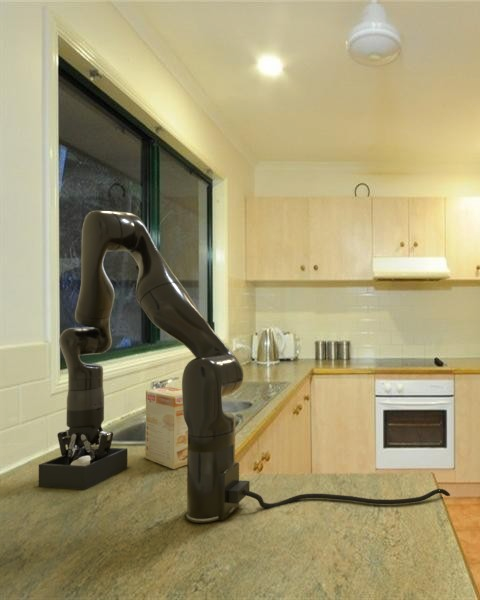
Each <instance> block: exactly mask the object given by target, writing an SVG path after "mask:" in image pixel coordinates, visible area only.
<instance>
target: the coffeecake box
mask: <svg viewBox="0 0 480 600" xmlns="http://www.w3.org/2000/svg"><path fill="white" fill-rule="evenodd" d="M187 448H188V428H187V424H186V422H185V420H184V415H183V398H182V388H178V387H173V386H163V387H158V388H153V389H147V390H145V447H144V449H145V450H144V451H145V453H144V459H146V460H149V461H152V462H154V463H157V464H159V465H162V466H164V467H167V468H168V469H172V470H176V469H178V468H181V467H185V466H187Z"/></svg>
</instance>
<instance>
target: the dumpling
mask: <svg viewBox="0 0 480 600" xmlns="http://www.w3.org/2000/svg"><path fill="white" fill-rule="evenodd" d="M90 460H91V458H90V456H83V457H80V458H79V459H77V460H75V461H73V462H72V463H71V464H70V465H78V466H86V465H89V464H90Z"/></svg>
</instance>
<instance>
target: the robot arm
mask: <svg viewBox="0 0 480 600" xmlns="http://www.w3.org/2000/svg"><path fill="white" fill-rule="evenodd" d="M107 252H108V253H109V252H110V253H111V252H112V253H113V252H115V253H116V252H118V253H119V252H127V253H129V254H130V256H131V257H133V259H134V260H135V263H136V264H137V267H138V275H137V281H136V285H135V296H136V299H137V302H138V304H139V305H140V307H141V309H142V310H143V312H144V313H145V314H146V316H147V317H148V318H149V320H150V321H151V322H152V324H153V325H155V326H156V327H157V328H158V329H160V330H161V332H164V333H165V334H166V335H168V336H169V337H171V338H172V339H174V340H176V341H177V342H179V343H180V344H181V345H183V346H184V347H185V348H186V349H188V350H189V351H190V352H191V354H192V355H193V356H194V358H193V359H191V360H189V361H188V362H187V363H186V365H185V367H184V369H183V373H182V376H181V377H182V378H181V389H182V398H183V415H184V420H185V422H186V424H187V428H188V448H187V465H186V466H187V467H186V511H185V512H186V513H185V514H186V520H188V521H189V522H192V523H195V524H196V523H197V524H206V523H212V522H217V521H225V520H226V519H227V518H228V517H229V516H230V515H231V514H232V513H233V512H234V511H235V510H236V509H237V508H239V506H240V502H241V501H242V500H243V499H244V498H246V496H247V497H250V498H252V499H255V500H256V501H257V502H258V504H259V506H260V507H261V508H264V509H272V508H276V507H279V506H283V505H287V504H291V503H293V502H296V501H299V500H306V499H327V500H336V501H337V500H339V501H349V502H357V503H363V504H371V505H402V504H403V505H404V504H411V503H419V502H423V501H425V500H428V499H430V498H432V497H434V496H435V495H438V494H441V495H444V496H446V497H450V496H451V493H450V492H448V491H447V490H446V489H443V488H436V489H433V490H431V491H428V493H425V494H423V495H421V496H416V497H409V498H395V499H383V498H381V499H380V498H379V499H378V498H367V497H359V496H354V495H353V496H352V495H344V494H343V495H341V494H330V493H302V494H298V495H295V496H291V497H289V498H287V499H284V500H281V501H279V502H274V503H268V502H265V501H264V499H263V497H262V496H261V495H260V494H258V493H256V492H253V491H250V483H251V481H250V480H240V462H238V461H236V416H235V415H234V414H233V413H232V412H230V411H229V412H228V411H224V409H223V399H222V397H225V396H227V395H230V394H233V393H235V392H237V391H238V390H239V389H240V388H241V387H242V385H243V382H244V379H245V377H244V376H245V375H244V369H243V367H242V364H241V362H240V360H239V359H238V358H237V356H236V355H235V353H234V352H232V350H231V349H230V348H229V347H228V346H227V345H226V343H225V342H224V341H223V340H222V339H221V338H220V337H219V335H217V333H216V331H214V330H213V328H212V327H211V326H210V324H209V322H208V321H207V320H206V318H205V317H204V315H203V314H202V313H201V311H200V310H199V308H198V307H197V306H196V304H195V303H194V301H193V300H192V298H191V297H190V294H189V293H188V292H187V290H186V289H185V288H184V286H183V285H182V283H181V282H180V281H179V279H178V278H177V277H176V275H175V274H174V273H173V271H172V270H171V268H170V266H169V265H168V263H167V262H166V260H165V259H164V257H163V256H162V254H161V251H160V250H159V248H158V247H157V245H156V242H155V241H154V239H153V236H152V235H151V233H150V232H149V230H148V228H147V226H146V225H145V223H144V222H143V220H142V219H141V218H140V217H139V216H138V215H136V214H134V213H132V212H127V211H117V210H116V211H115V210H92V211H90V212H88V213H87V214H86V215H85V217H84V220H83V224H82V229H81V254H80V256H81V259H80V262H81V263H80V264H81V266H80V267H81V271H80V272H81V275H80V277H81V278H80V289H79V295H78V298H77V303H76V307H75V312H74V319H75V321H76V323H78V324H79V325H81V326H84V327H69V328H66V329H65V330H63V331H62V333H61V334H60V336H59V339H58V342H59V347H60V350H61V353H62V355H63V358H64V361H65V364H66V369H67V376H68V377H67V378H68V380H67V396H66V427H67V428H68V429H66V430H62V431H60V432H58V433H57V440H58V446H59V450H60V456H64V455H66V456H67V457H68V458H69V465H70V464H71V463H72V462H73V461H75V460H77V459H79V458H80V456H78V455H80V453H81V450H82V448H83V447H85V449H86V451H87V452H89V455H90V458H91V460H90V464H91V463H93V462H95V461H98V460H100V459H101V457H102V456H105V455H107V454H109V451H110V448H112V441H113V439H114V438H113V437H114V432H113V431H109V432H107V431H104V429H103V428H102V424H103V423H104V421H105V391H104V367H103V366H102V365H101V364H99V363H90V362H83V361H82V360H81V358H80V356H90V355H91V356H92V355H101V354H105V353H106V352H108V351H109V350H110V349H111V347H112V344H113V337H112V333H111V315H112V311H113V307H114V303H115V297H116V296H115V289H114V286H113V284H112V282H111V280H110V278H109V277H108V275H107V273H106V271H105V267H104V260H105V256H106V254H107ZM94 450H96V454H95V451H94ZM439 490H440V491H439Z"/></svg>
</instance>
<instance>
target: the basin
mask: <svg viewBox="0 0 480 600" xmlns="http://www.w3.org/2000/svg"><path fill="white" fill-rule="evenodd" d="M94 451H95V454H96V450H94ZM78 456H80V457H83V456H90V455H89V452H87V451H86V449H85V447H83V448H82V450H81V453H80V455H78ZM126 469H127V470H128V448H126V447H125V448H123V447H110V451H109V454H107V455H105V456H102V457H101V459H100V460H98V461H95V462H93V463H91V464H89V465H86V466H78V465H69V458H68V457H67V456H66V455H64V456H62V455H60V456H57V457H55V458H53V459H50V460H47V461H44V462H42V463H39V464H38V487H39V488H40V487H41V488H55V489H68V490H84V491H85V490H87V489H89V488H92V487H93V486H95V485H97V484H99V483H101V482H103V481H105V480H107V479H109V478H111V477H113V476H115V475H117V474H118V473H121V472H123V471H125V470H126Z"/></svg>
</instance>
